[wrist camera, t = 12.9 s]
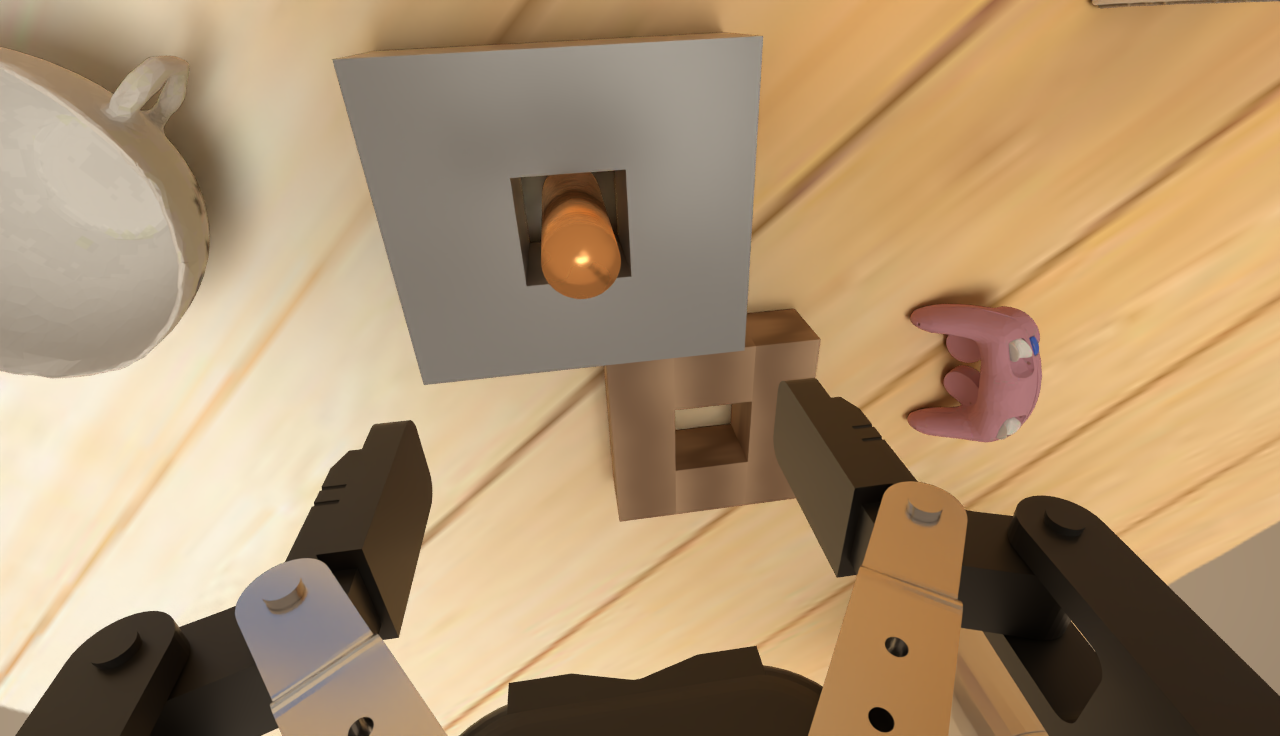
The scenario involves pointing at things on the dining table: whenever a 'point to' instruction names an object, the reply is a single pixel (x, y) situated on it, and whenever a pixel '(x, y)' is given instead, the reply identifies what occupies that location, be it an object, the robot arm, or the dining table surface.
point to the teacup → (93, 217)
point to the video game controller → (983, 371)
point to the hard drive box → (1162, 2)
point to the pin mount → (708, 456)
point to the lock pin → (577, 237)
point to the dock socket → (550, 145)
